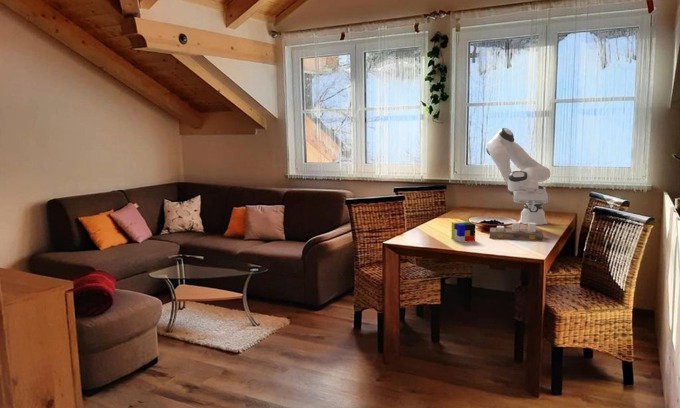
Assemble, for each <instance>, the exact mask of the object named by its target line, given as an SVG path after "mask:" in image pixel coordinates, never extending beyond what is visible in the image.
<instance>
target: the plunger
mask: <svg viewBox="0 0 680 408" xmlns="http://www.w3.org/2000/svg"><path fill="white" fill-rule="evenodd" d="M527 225H528V228H527V229H528V232H536V230H537V225H536V223H529V222H528V224H527Z"/></svg>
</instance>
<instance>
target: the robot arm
mask: <svg viewBox="0 0 680 408" xmlns="http://www.w3.org/2000/svg"><path fill="white" fill-rule="evenodd" d="M486 152H487V154H488V155H489V156H490V157H491V160H492V161H493V162H494V163H495V166H496V167H497V168H498V170H499V172H500V173H501V176H502V177H503V180H504V181H505V183H506V187H507V193H509V195H511V196H513V198H512V199H513V202H514V203H515V204H517V203H519V204H523V209H522V210H521V211H520V219H519V220H518V221H517V222H520V224H522V225H523V224H524V225H528V222H529V223H536V226H541V225H548V221H546V218H545V211H544V210H543V206H544V205H543V204H548V203H549V196H548V195H549V194H548V192H547V190H546V189H547V188H546V187H545V186H543V185H539V183H542V182H546V181H547V180H548V179H549V180H550V178H551V171H550V168H549V167H547V166H544V165H542V164H541V163H539V162H538V161H537V160H535V159H533V157H531V156H530V155H529V154H528V153H527V152H526V151H525V149H524V148H523V147H522V145H520V144H518V143H517V142H515V137H514V133H513V131H511V130H510V129H508V128H506V127H501V128H500V129H499V130H498V132H497V133H496V134H495V135H494V136H493V137H492V139H490V140H489V141H488V142H487V144H486ZM511 162H512V163H513V165H515V167H516V168H517V169H518V170H514V171H512V170H511Z"/></svg>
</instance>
